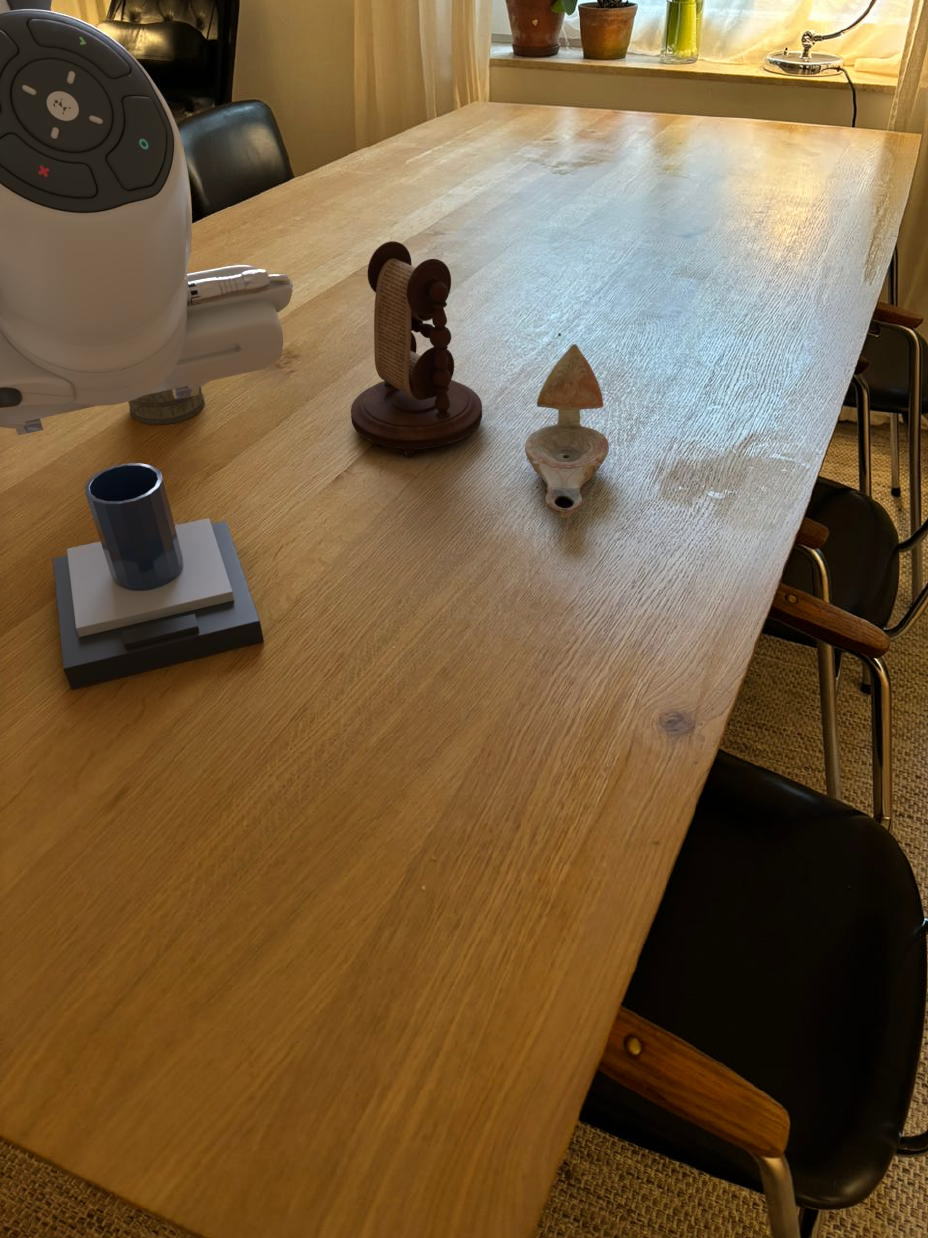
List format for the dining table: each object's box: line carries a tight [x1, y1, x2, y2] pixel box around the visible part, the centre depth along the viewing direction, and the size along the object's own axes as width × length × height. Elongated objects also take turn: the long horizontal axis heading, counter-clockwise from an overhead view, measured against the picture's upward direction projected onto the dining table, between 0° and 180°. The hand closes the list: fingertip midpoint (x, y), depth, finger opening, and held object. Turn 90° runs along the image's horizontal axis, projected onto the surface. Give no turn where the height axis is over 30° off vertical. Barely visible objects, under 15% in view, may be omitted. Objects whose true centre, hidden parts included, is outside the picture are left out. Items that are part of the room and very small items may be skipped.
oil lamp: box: [524, 343, 610, 519], centre depth 101 cm, size 9×21×10 cm, turn 173°
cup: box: [84, 462, 184, 591], centre depth 85 cm, size 6×6×9 cm
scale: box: [52, 517, 265, 691], centre depth 88 cm, size 16×16×3 cm
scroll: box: [350, 240, 483, 459], centre depth 106 cm, size 15×15×20 cm
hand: (106, 403), depth 61 cm, fingers open, 8 cm apart
